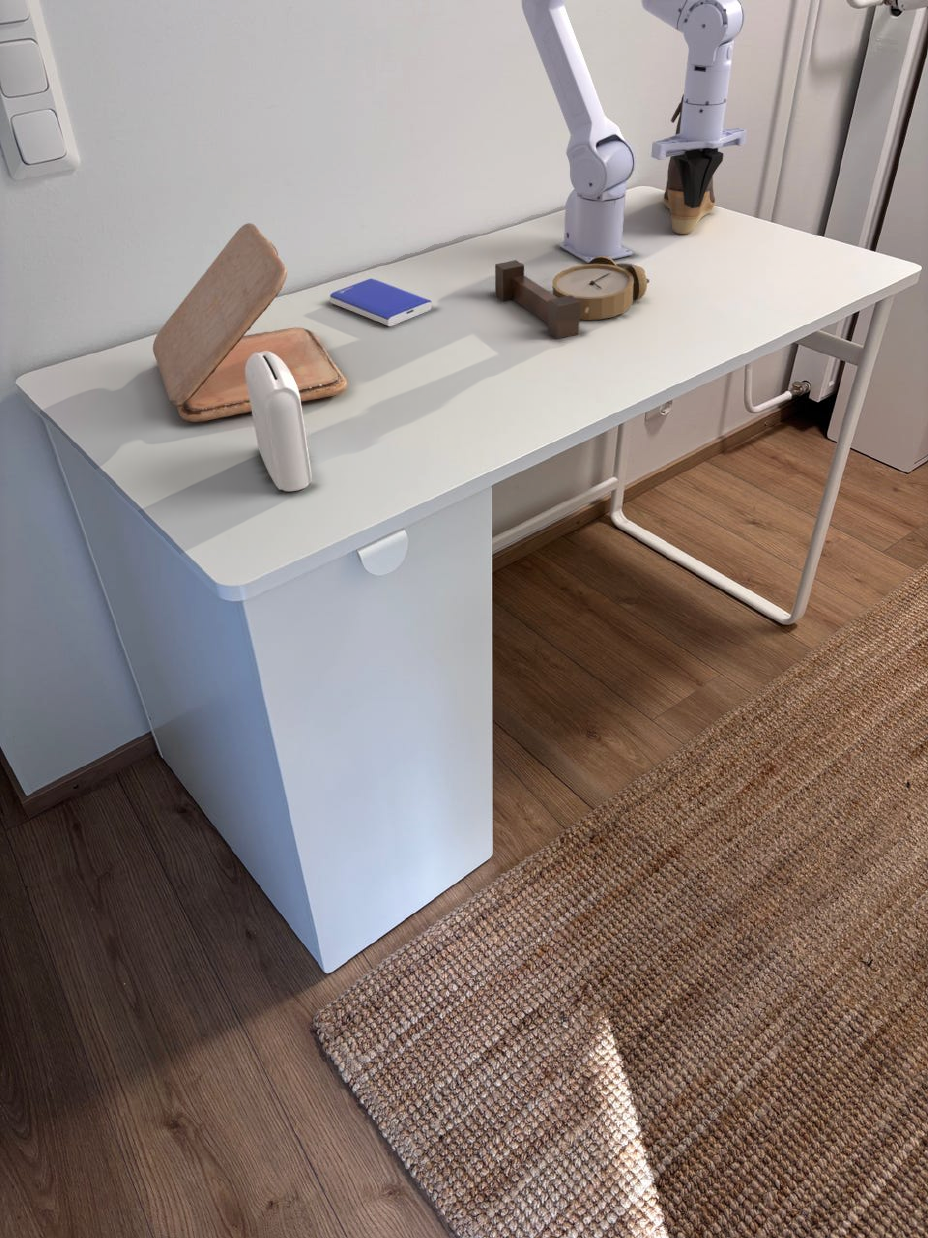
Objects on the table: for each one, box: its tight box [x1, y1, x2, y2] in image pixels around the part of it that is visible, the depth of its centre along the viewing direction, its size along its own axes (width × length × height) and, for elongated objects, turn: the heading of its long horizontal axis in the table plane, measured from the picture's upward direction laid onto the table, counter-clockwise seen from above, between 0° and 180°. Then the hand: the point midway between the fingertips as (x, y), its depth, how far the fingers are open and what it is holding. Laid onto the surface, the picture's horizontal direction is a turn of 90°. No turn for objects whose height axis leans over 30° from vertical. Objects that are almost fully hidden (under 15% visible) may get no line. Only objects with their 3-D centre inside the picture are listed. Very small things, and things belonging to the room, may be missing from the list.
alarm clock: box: [551, 256, 650, 321], centre depth 137 cm, size 11×5×15 cm
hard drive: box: [329, 277, 432, 327], centre depth 138 cm, size 2×8×12 cm
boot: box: [663, 93, 716, 235], centre depth 160 cm, size 9×24×20 cm, turn 168°
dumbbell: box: [494, 259, 580, 340], centre depth 134 cm, size 17×4×4 cm, turn 26°
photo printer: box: [245, 351, 313, 492], centre depth 101 cm, size 10×4×12 cm, turn 22°
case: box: [152, 222, 348, 423], centre depth 117 cm, size 20×21×16 cm
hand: (692, 205), depth 140 cm, fingers closed
